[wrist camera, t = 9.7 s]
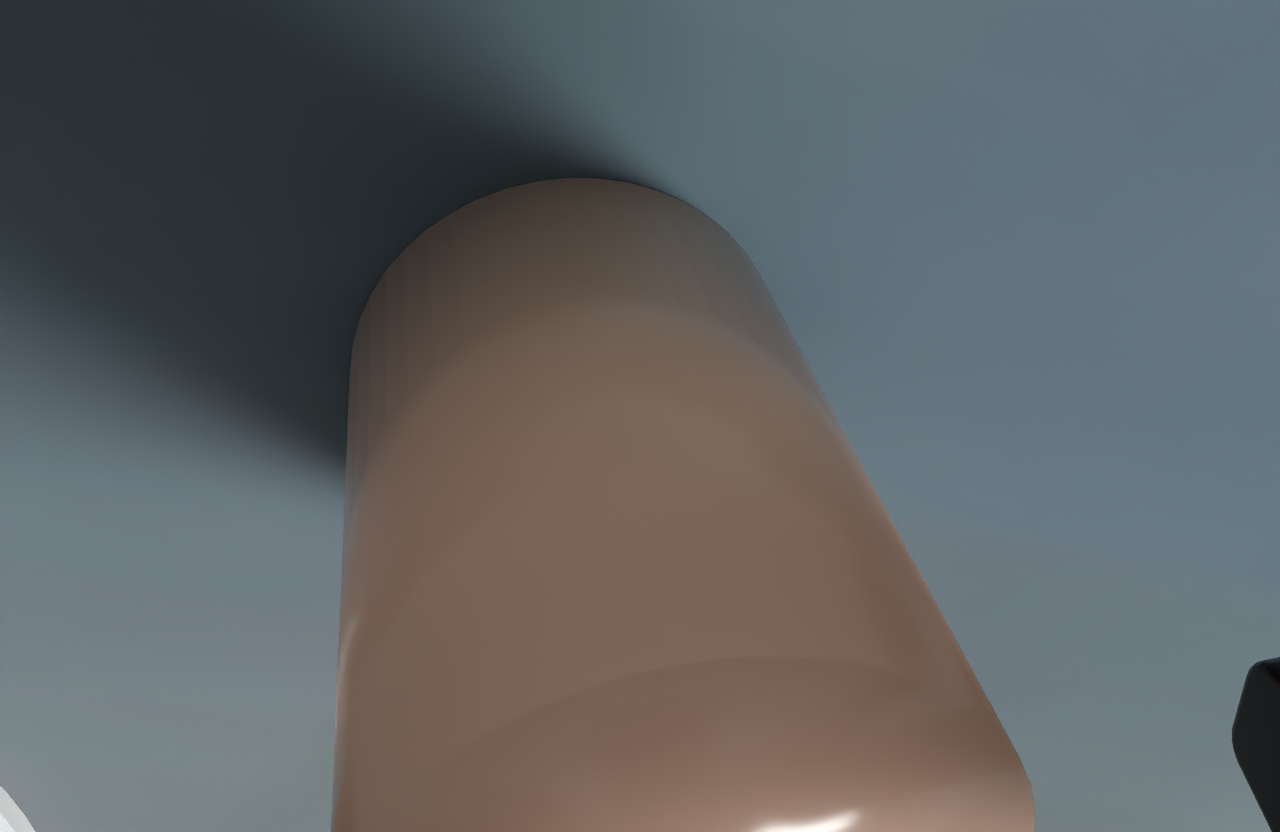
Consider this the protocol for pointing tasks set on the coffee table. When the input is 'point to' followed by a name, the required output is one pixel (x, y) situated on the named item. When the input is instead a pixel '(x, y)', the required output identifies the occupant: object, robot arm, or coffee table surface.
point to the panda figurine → (12, 815)
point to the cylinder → (628, 553)
